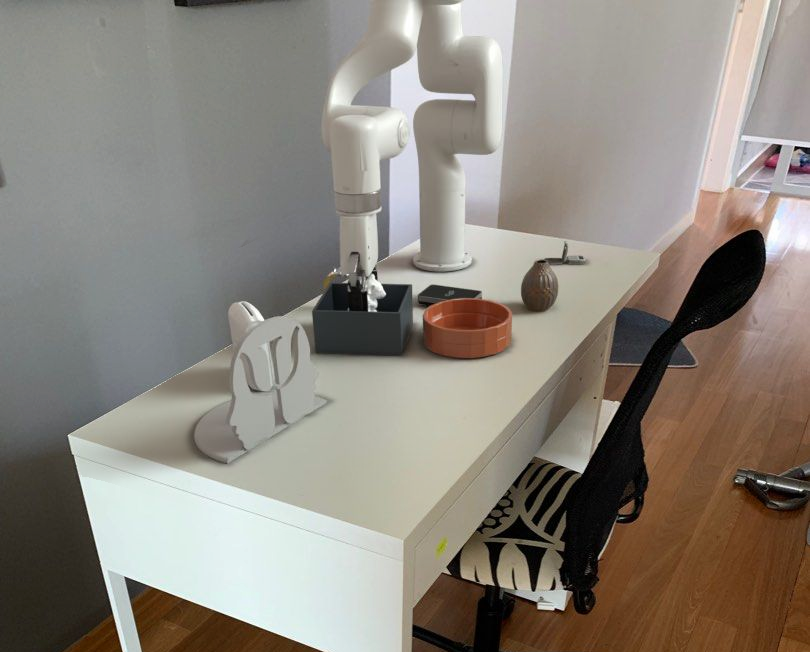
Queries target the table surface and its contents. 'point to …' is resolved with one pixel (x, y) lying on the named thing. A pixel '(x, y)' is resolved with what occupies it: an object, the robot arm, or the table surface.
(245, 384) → the ornament
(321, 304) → the bin
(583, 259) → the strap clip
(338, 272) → the ring
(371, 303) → the koala figurine
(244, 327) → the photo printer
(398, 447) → the table surface
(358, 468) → the table surface
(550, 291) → the vase
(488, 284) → the table surface
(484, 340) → the bowl
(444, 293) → the external hard drive
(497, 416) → the table surface
